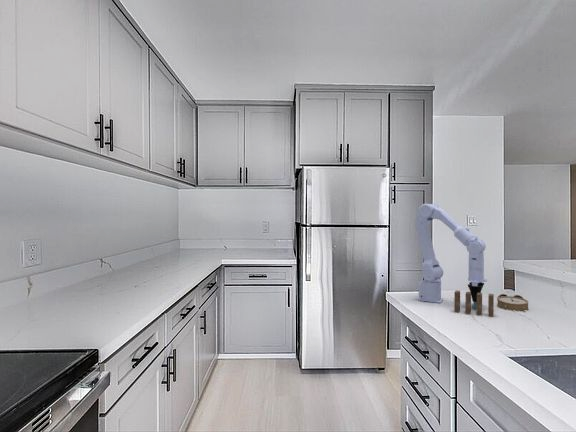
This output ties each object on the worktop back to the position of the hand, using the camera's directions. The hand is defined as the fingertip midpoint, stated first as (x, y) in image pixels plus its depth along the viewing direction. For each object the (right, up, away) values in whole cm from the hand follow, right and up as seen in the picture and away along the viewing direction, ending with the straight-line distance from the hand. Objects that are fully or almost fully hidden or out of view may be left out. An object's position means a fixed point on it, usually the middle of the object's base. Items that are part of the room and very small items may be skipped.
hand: (475, 300), depth 156 cm
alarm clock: (+16, -3, +2) cm, 17 cm away
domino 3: (-4, -3, -10) cm, 11 cm away
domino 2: (-7, -3, -8) cm, 11 cm away
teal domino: (0, -3, 0) cm, 3 cm away
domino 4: (0, -3, -12) cm, 12 cm away
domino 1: (-11, -3, -6) cm, 12 cm away
